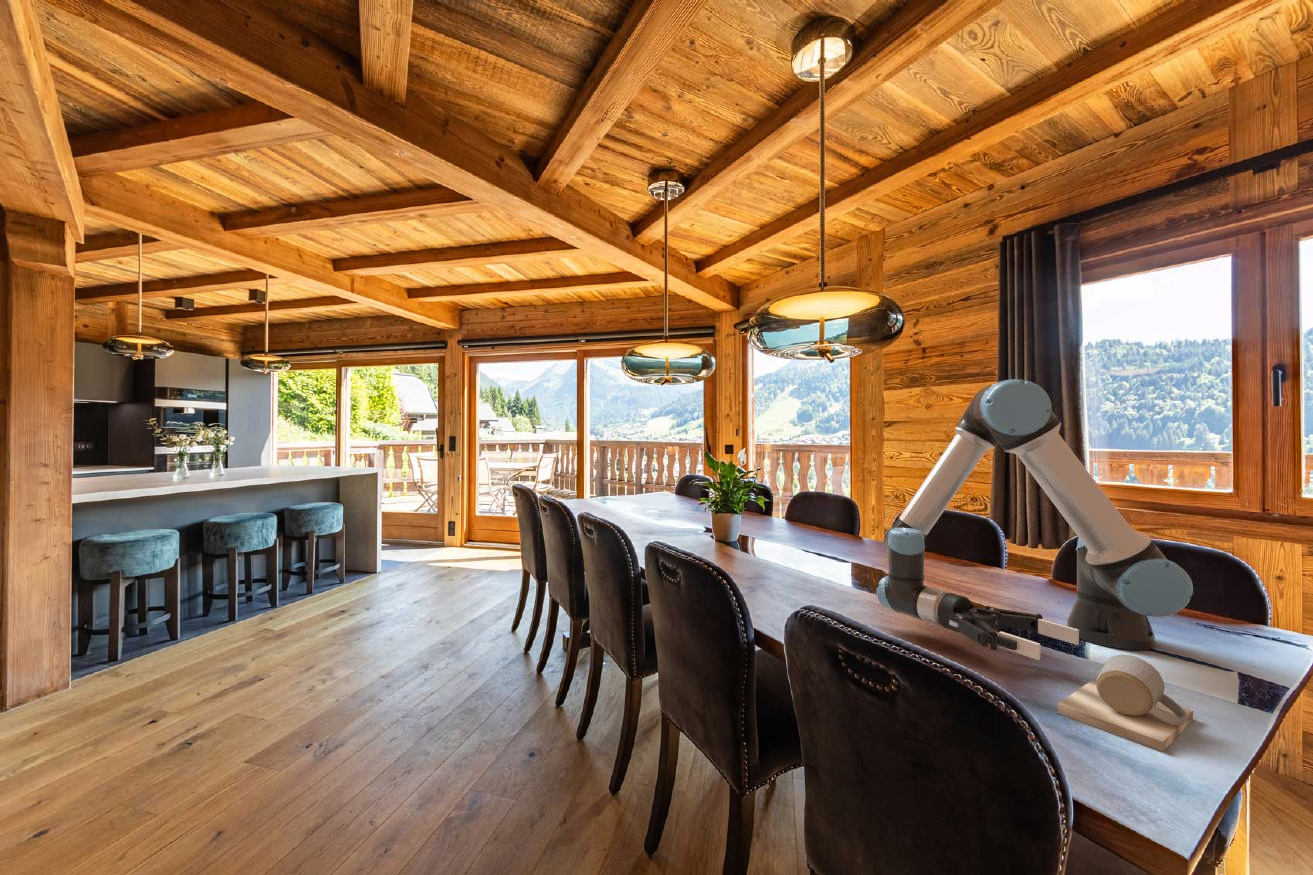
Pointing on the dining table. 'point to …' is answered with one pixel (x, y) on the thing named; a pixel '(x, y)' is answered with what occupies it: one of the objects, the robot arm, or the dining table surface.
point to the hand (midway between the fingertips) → (1059, 644)
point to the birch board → (1121, 718)
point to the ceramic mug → (1136, 689)
